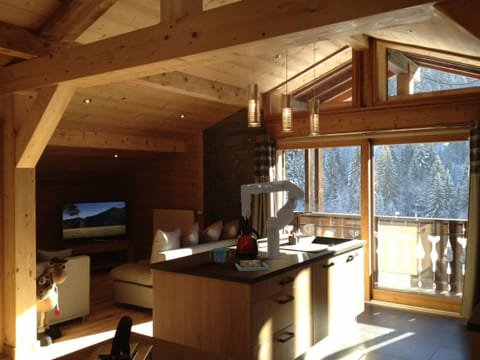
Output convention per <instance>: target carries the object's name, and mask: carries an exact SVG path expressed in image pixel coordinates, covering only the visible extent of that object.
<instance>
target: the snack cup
mask: <svg viewBox="0 0 480 360" xmlns="http://www.w3.org/2000/svg"><path fill="white" fill-rule="evenodd" d="M227 252H228V253H229V258H231V256H232V254H231V250H230V249H228V248H227V247H214V248H212V249H211V250H210V251H209V259H211V253H213V256H214V257H213V258H214V263H216V264H225V263H226V260H227V259H226V258H227Z"/></svg>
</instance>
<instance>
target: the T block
mask: <svg viewBox="0 0 480 360" xmlns="http://www.w3.org/2000/svg"><path fill="white" fill-rule="evenodd" d="M239 266H240V268H252V267H262V263H261V259H253V260H252V259H251V260H250V259H249V260H247V259H246V260H239Z"/></svg>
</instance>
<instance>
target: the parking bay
mask: <svg viewBox="0 0 480 360" xmlns="http://www.w3.org/2000/svg"><path fill="white" fill-rule="evenodd" d="M235 268H236V270H238V272H257V271H258V272H259V271H270V267H269V265H268V264H266V263H265V262H262V263H261V267H252V268H248V267H240V264H238V263H235Z"/></svg>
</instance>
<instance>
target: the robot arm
mask: <svg viewBox="0 0 480 360" xmlns="http://www.w3.org/2000/svg"><path fill="white" fill-rule="evenodd" d="M278 192H287V201H286V203H284V205H282V206H281V208H279V209H278V210H277V212H276V216H270V217H268V218H267V219H266V222H265V227H266V235H267V237H266V242H267V244H266V248H267V249H266V252H267V253H266V255H265V258H266V259H269V260H270V259H271V260H276V259H277V260H279V259H282V257H283V256H286V254H287V253H286V252H281V251H280V249H281V247H280V242H281V241H280V239H281V238H280V231H281V230H283V229H285V228H286V227H287V226H288V224H290V223H291V222H292V221H293V219H294V217H295V212H294V211H295V210H296V209H297V207H298V201H302V200H304V198H305V196H306V195H305V191H304V189H302V188H301V187H300V186H299V185H297V184H296V183H295V182H293V180H289V179H284V180H283V179H282V180H275V181H273V180H272V181H265V182H257V183H250V184H242V185H240V203H241V216H242V217H243V218H244V221H243V222H244V226H246V227H247V226H250V216H251V203H252V194H253V195H258V194H261V193H265V194H266V193H267V194H268V193H269V194H271V193H278Z"/></svg>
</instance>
